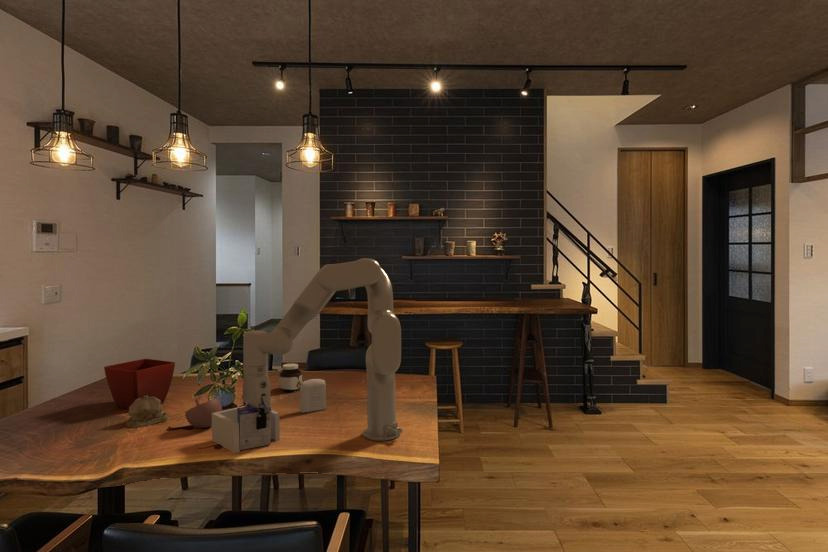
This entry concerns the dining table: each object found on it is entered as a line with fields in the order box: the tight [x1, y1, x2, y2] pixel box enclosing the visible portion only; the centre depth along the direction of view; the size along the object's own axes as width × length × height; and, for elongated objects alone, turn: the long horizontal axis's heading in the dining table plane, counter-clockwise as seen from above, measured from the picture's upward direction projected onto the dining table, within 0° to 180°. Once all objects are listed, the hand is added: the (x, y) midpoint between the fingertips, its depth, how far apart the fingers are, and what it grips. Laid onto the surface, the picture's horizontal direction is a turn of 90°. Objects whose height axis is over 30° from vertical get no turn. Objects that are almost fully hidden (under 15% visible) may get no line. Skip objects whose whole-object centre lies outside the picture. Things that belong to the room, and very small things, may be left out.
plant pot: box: [103, 358, 176, 409], centre depth 205 cm, size 19×19×17 cm
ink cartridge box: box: [236, 403, 272, 451], centre depth 158 cm, size 10×6×14 cm, turn 120°
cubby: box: [211, 405, 281, 454], centre depth 164 cm, size 16×16×9 cm
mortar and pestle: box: [184, 394, 223, 429], centre depth 177 cm, size 12×12×11 cm
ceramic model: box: [125, 395, 169, 428], centre depth 183 cm, size 14×11×10 cm
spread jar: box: [278, 363, 303, 393], centre depth 228 cm, size 12×11×12 cm
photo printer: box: [299, 378, 327, 414], centre depth 196 cm, size 10×4×12 cm, turn 123°
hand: (255, 425), depth 158 cm, fingers closed on ink cartridge box, 7 cm apart
